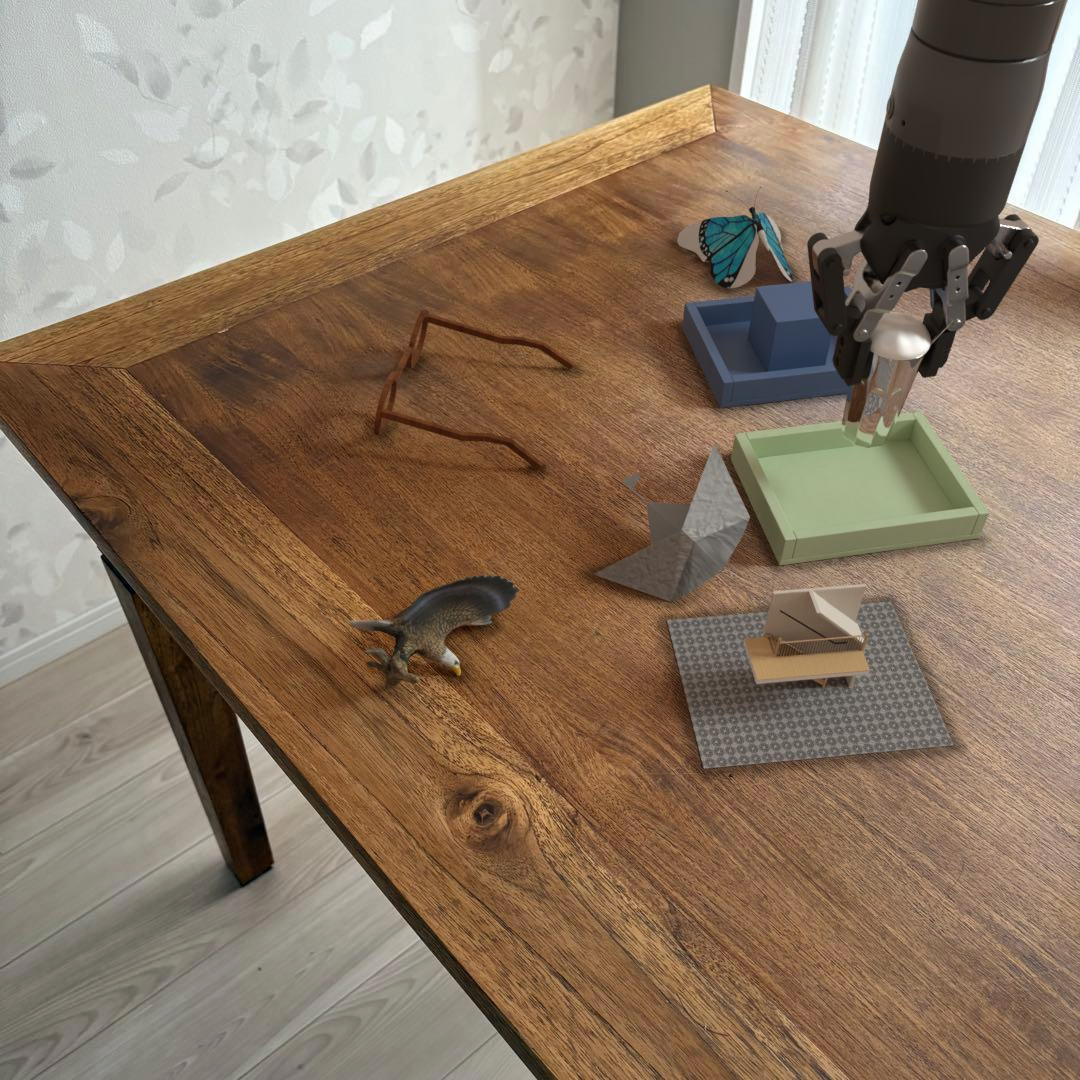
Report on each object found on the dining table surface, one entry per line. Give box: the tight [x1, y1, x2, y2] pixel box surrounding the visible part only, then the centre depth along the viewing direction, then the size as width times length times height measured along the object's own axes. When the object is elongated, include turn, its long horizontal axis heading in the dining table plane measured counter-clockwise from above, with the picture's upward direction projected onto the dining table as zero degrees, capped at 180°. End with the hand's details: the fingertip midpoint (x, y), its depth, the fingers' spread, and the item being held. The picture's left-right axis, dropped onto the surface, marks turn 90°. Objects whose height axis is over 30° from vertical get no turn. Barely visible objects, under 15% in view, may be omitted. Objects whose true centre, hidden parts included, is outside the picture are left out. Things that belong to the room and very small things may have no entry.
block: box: [748, 280, 832, 372], centre depth 90 cm, size 5×5×5 cm
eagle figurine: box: [348, 574, 520, 690], centre depth 68 cm, size 8×7×9 cm
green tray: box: [730, 411, 990, 566], centre depth 79 cm, size 15×11×2 cm
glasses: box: [373, 308, 575, 470], centre depth 85 cm, size 13×13×5 cm
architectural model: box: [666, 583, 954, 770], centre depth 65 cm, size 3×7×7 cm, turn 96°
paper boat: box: [592, 442, 751, 603], centre depth 74 cm, size 12×6×9 cm
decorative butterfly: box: [676, 186, 794, 289], centre depth 100 cm, size 10×6×10 cm
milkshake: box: [841, 310, 953, 449], centre depth 73 cm, size 4×5×10 cm
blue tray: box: [681, 285, 853, 409], centre depth 91 cm, size 15×11×2 cm
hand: (886, 373), depth 72 cm, fingers closed on milkshake, 4 cm apart
